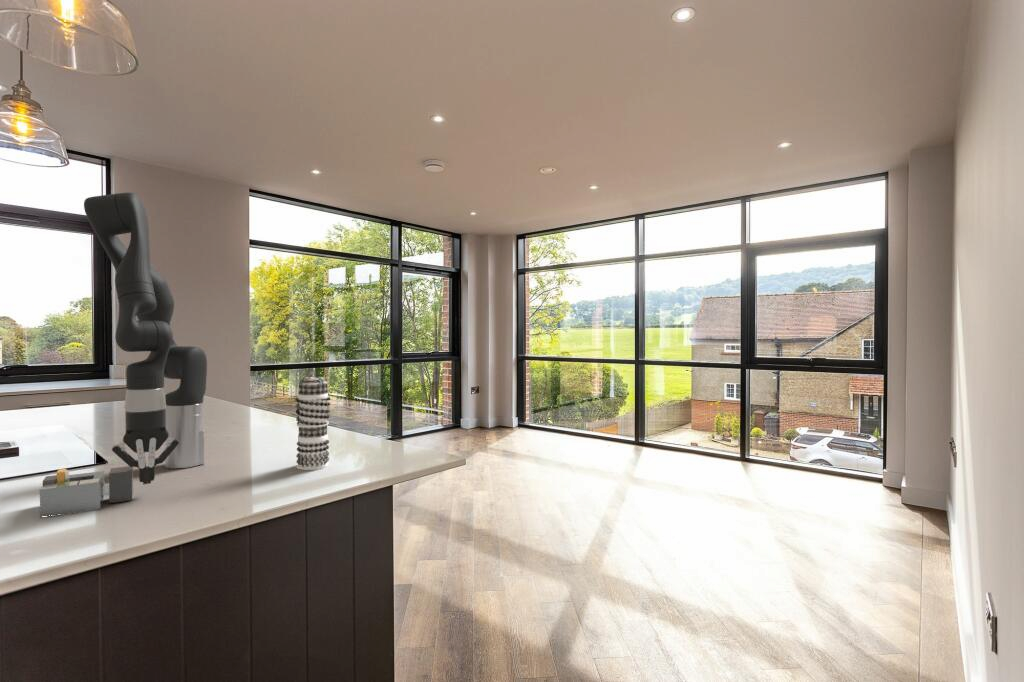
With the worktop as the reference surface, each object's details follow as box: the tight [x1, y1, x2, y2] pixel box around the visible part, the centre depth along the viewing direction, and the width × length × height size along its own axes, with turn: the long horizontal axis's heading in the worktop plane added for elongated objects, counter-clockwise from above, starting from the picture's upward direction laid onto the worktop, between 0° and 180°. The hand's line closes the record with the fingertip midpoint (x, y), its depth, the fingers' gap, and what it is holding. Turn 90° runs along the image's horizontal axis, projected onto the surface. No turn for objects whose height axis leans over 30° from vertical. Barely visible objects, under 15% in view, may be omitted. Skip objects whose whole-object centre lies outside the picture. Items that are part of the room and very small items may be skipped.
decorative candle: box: [294, 376, 331, 471], centre depth 144 cm, size 9×9×25 cm
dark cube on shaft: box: [65, 465, 134, 504], centre depth 113 cm, size 12×5×8 cm, turn 124°
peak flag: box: [56, 468, 67, 483], centre depth 109 cm, size 1×3×7 cm, turn 34°
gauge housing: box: [39, 470, 106, 518], centre depth 110 cm, size 10×10×7 cm
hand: (147, 483), depth 117 cm, fingers closed
